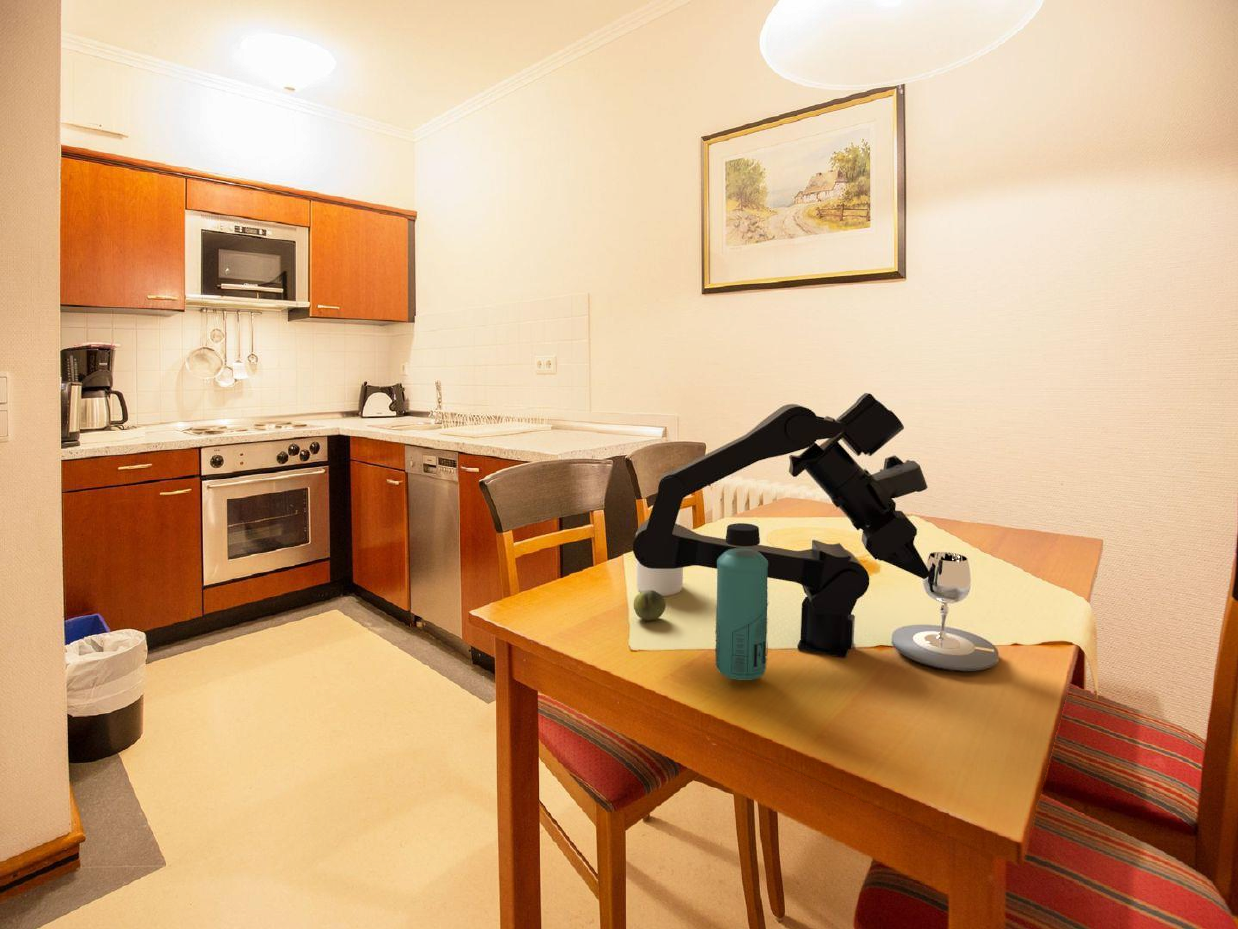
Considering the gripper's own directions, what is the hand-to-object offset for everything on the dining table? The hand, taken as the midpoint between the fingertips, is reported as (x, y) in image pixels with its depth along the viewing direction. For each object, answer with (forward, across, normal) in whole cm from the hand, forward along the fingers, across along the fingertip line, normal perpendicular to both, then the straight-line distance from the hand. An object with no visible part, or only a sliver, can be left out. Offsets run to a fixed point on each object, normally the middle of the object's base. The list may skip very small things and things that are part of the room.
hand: (918, 564), depth 88 cm
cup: (-16, +20, +38) cm, 45 cm away
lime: (-16, +3, +36) cm, 40 cm away
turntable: (+12, -1, +6) cm, 13 cm away
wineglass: (+10, -1, +5) cm, 11 cm away
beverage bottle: (-7, -14, +25) cm, 30 cm away
